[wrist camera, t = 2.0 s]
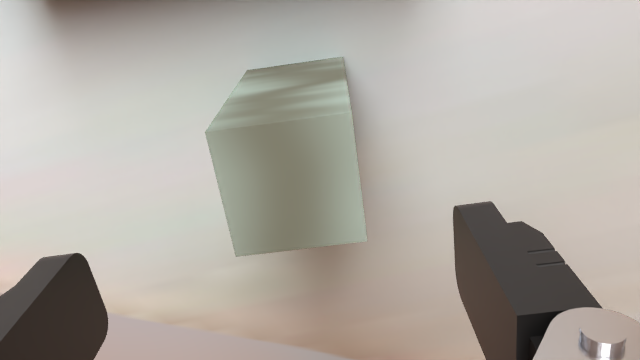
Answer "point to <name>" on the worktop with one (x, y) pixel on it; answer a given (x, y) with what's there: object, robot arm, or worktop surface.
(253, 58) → the worktop surface
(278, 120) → the peg
